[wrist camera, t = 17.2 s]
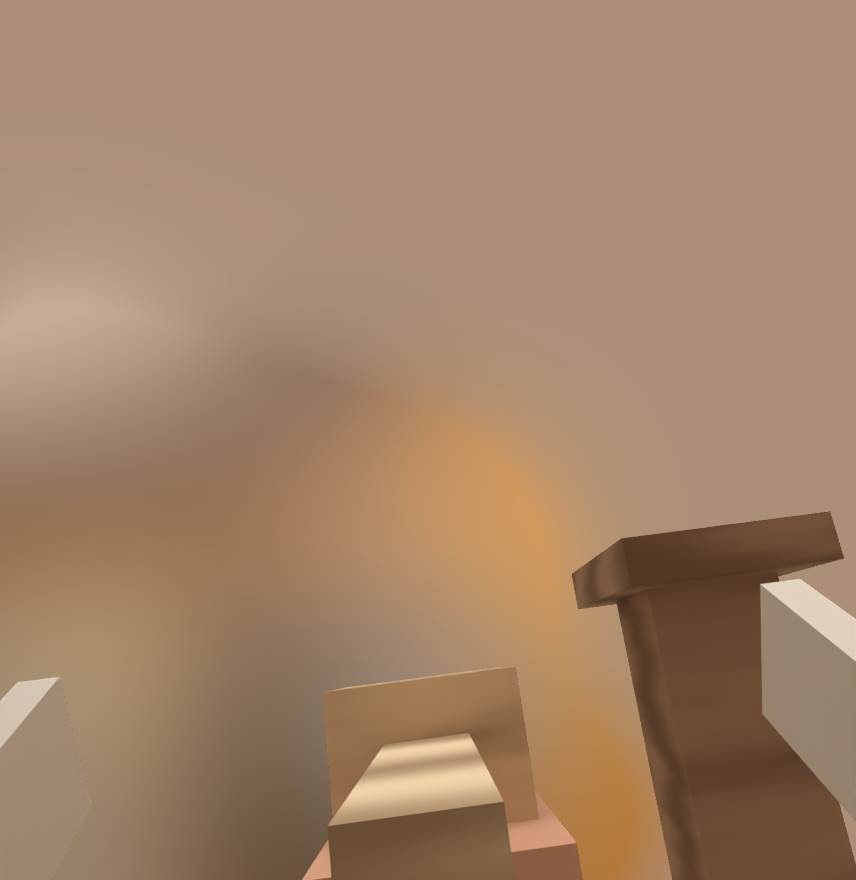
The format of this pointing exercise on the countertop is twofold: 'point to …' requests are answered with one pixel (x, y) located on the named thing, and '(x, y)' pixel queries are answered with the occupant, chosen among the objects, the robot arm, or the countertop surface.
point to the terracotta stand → (514, 850)
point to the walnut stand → (720, 698)
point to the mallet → (428, 777)
